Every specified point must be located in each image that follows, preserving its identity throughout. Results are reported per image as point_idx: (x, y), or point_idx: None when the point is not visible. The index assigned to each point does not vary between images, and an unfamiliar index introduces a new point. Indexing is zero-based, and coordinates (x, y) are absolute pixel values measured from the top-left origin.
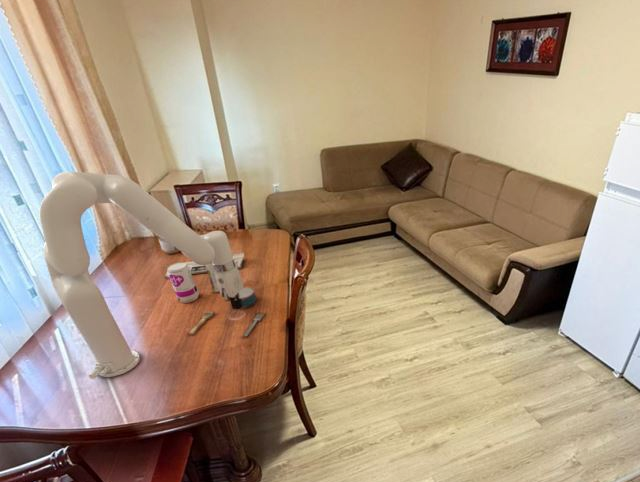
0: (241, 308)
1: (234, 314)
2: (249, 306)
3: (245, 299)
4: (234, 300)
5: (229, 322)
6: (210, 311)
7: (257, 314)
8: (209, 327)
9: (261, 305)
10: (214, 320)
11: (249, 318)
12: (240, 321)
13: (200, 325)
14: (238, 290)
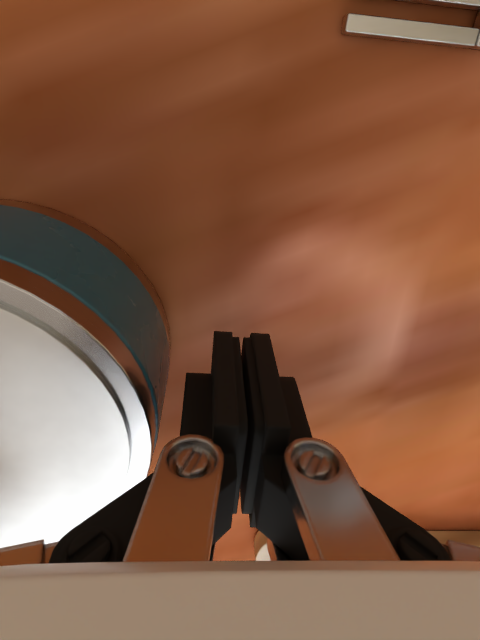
0: (168, 335)
1: (291, 362)
2: (122, 251)
3: (114, 329)
4: (341, 473)
5: (444, 354)
6: (259, 555)
7: (363, 26)
8: (477, 475)
9: (52, 68)
10: (373, 480)
11: (417, 146)
12: (459, 245)
13: (441, 536)
14: (316, 632)
